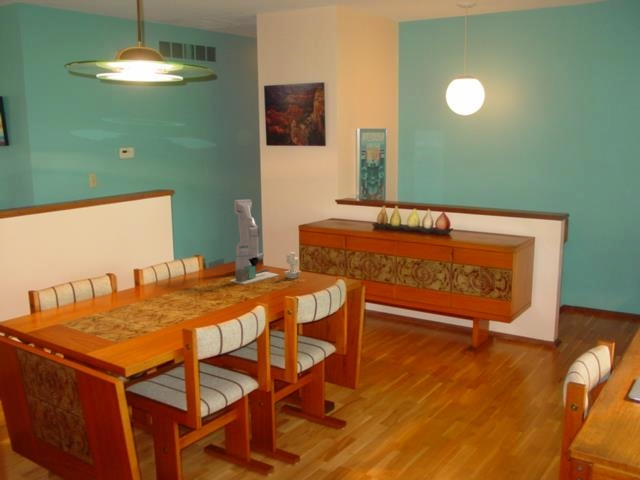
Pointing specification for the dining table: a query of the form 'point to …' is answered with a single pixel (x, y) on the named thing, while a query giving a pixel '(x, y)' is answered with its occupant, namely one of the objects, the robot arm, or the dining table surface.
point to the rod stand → (243, 278)
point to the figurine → (292, 266)
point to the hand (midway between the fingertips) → (253, 270)
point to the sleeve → (250, 271)
